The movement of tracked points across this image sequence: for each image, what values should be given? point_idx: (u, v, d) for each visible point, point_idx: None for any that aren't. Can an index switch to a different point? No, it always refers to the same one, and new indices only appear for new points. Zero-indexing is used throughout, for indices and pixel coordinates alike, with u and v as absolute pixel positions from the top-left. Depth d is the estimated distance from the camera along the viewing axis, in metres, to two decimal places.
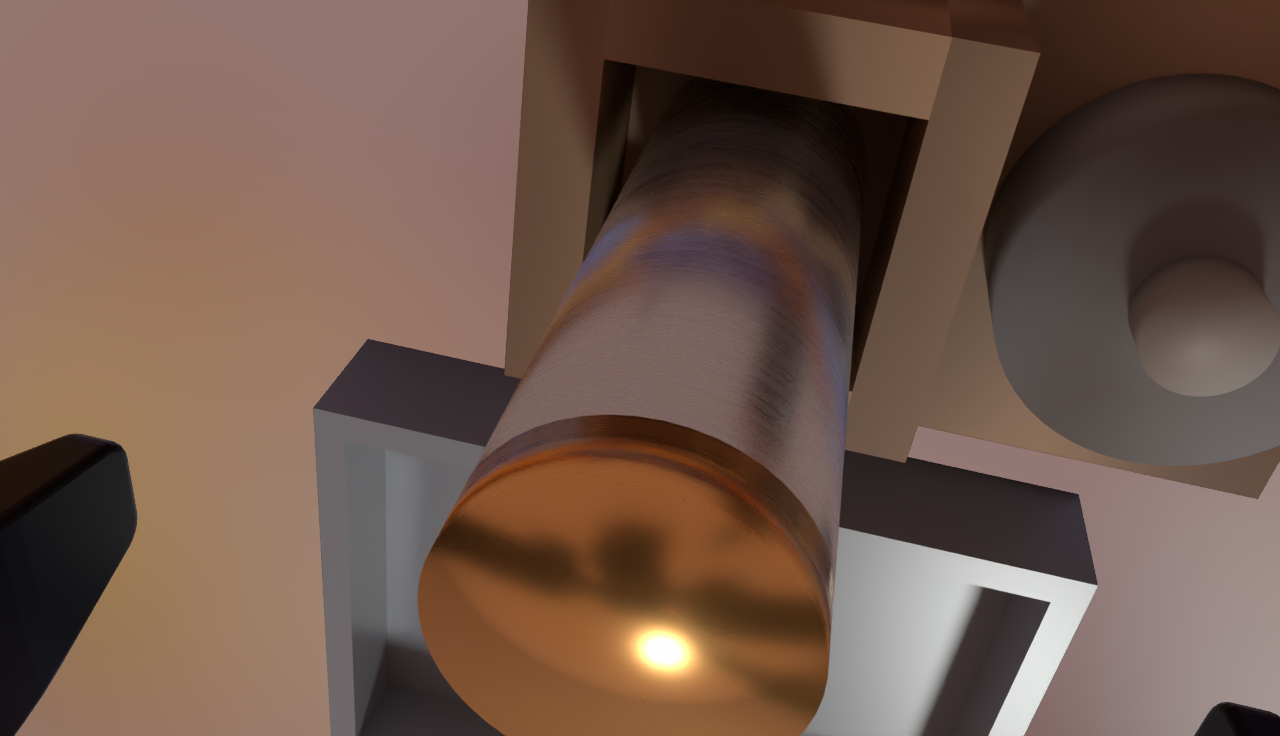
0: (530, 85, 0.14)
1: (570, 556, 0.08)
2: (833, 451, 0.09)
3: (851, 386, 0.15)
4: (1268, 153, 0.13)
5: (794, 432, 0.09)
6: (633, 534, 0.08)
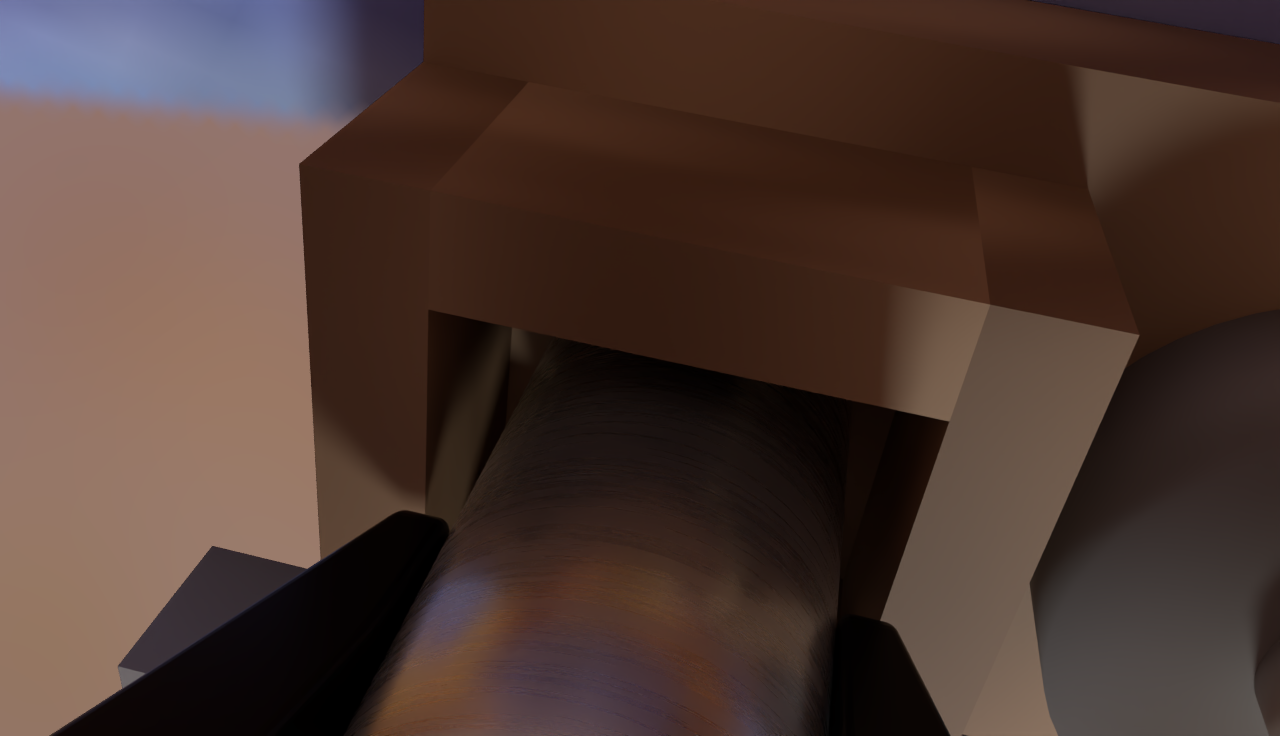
0: (320, 340, 0.09)
1: None
2: None
3: None
4: None
5: None
6: None
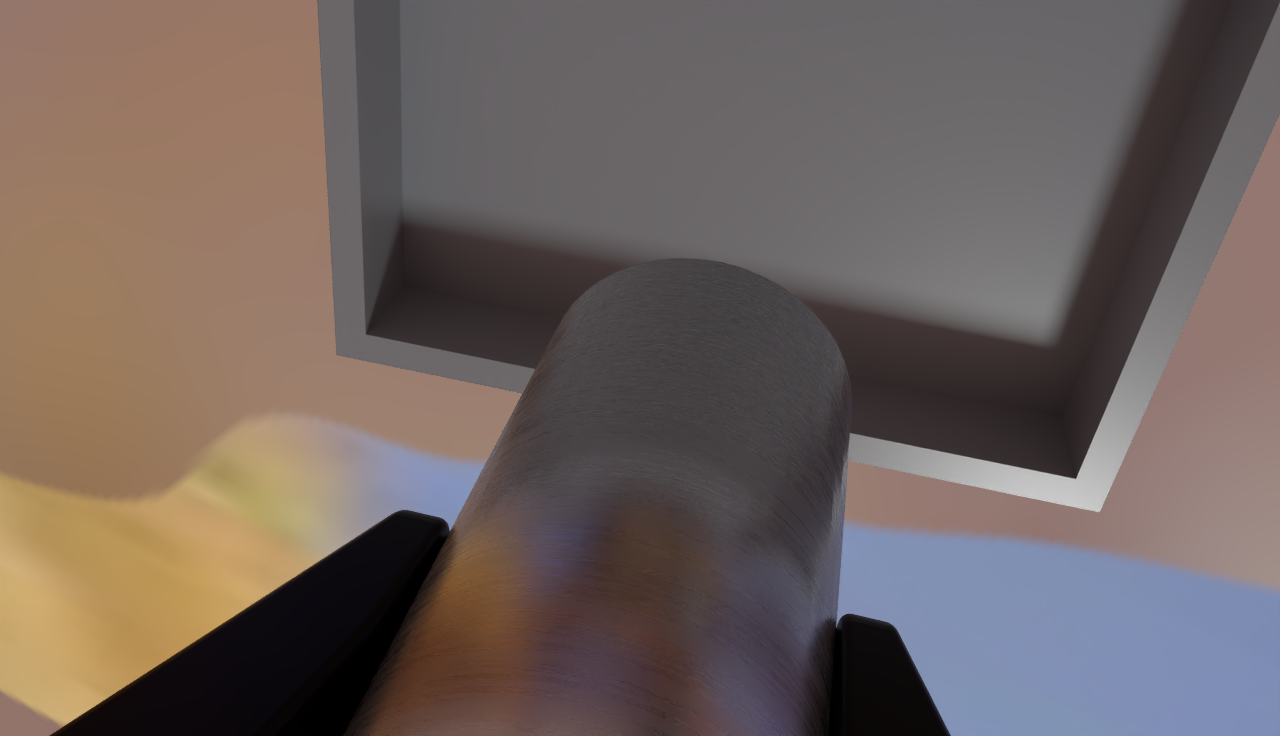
0: None
1: None
2: None
3: None
4: None
5: None
6: None
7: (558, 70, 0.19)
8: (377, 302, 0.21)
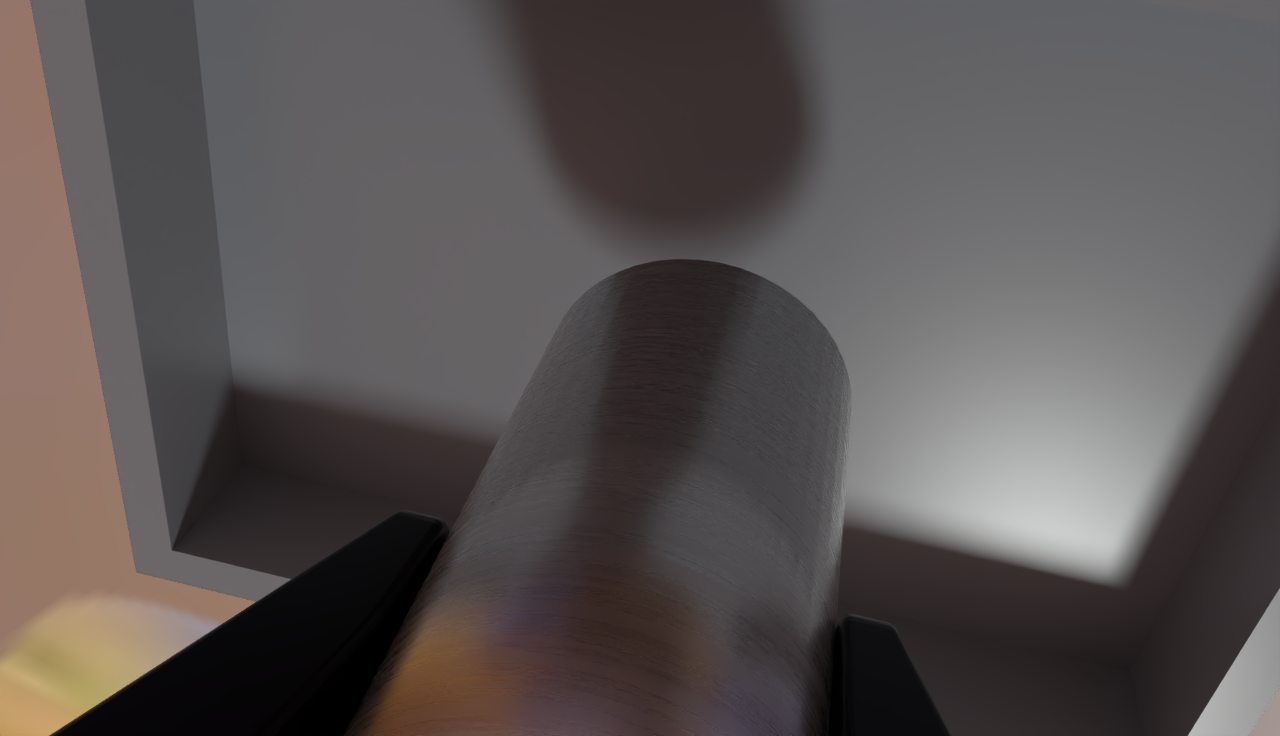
0: None
1: None
2: None
3: None
4: None
5: None
6: None
7: (430, 202, 0.13)
8: (192, 502, 0.15)
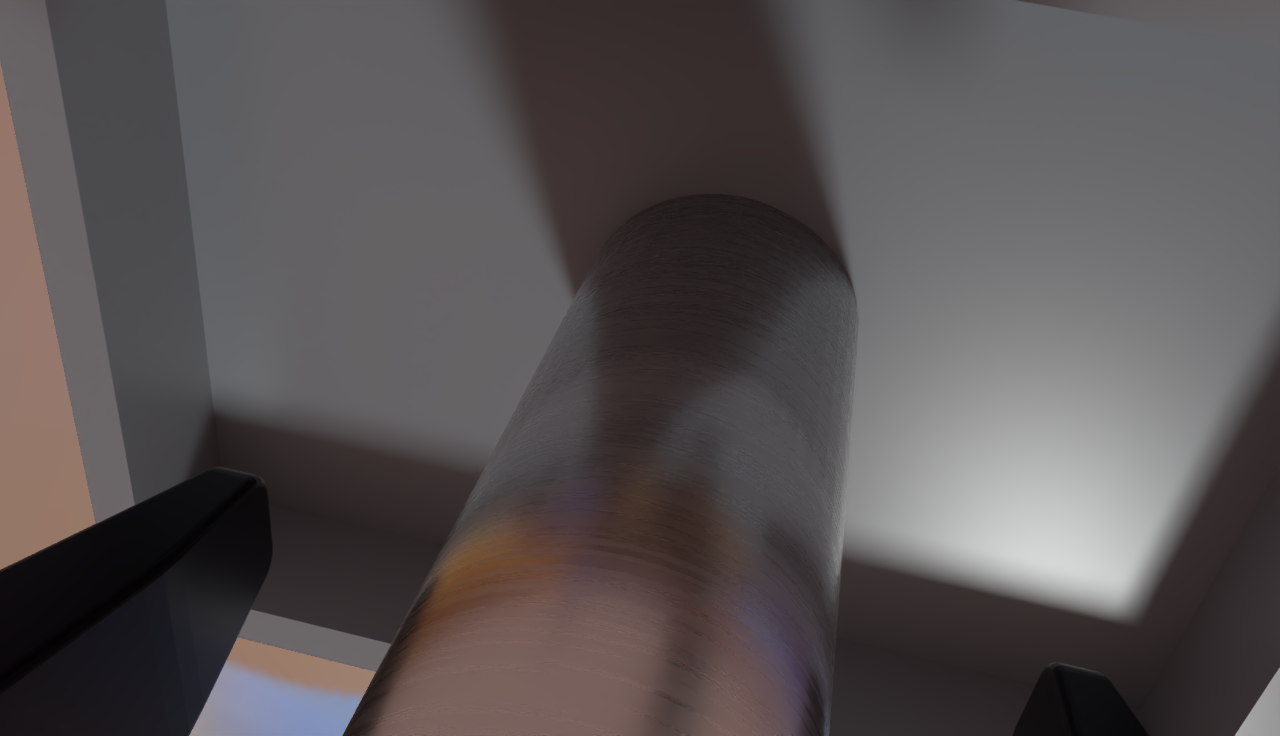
0: None
1: None
2: None
3: None
4: None
5: None
6: None
7: (414, 226, 0.13)
8: None
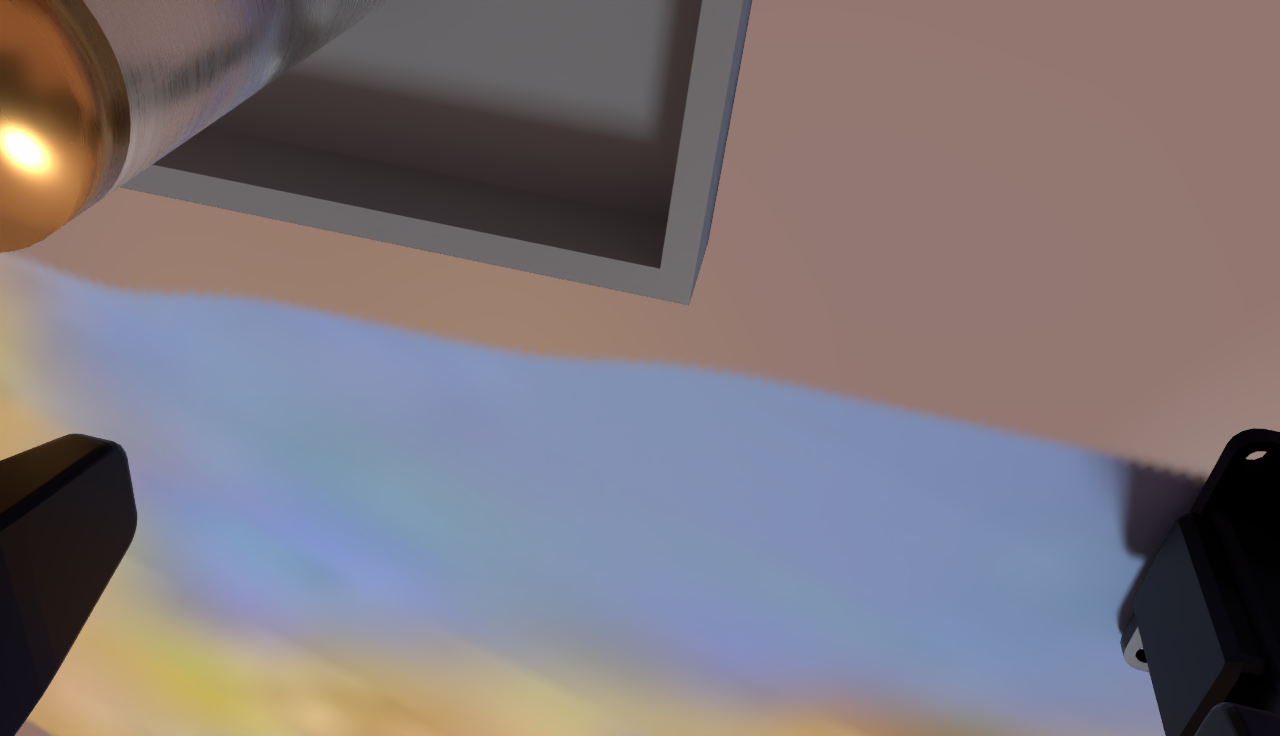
0: None
1: None
2: None
3: None
4: None
5: None
6: None
7: None
8: None
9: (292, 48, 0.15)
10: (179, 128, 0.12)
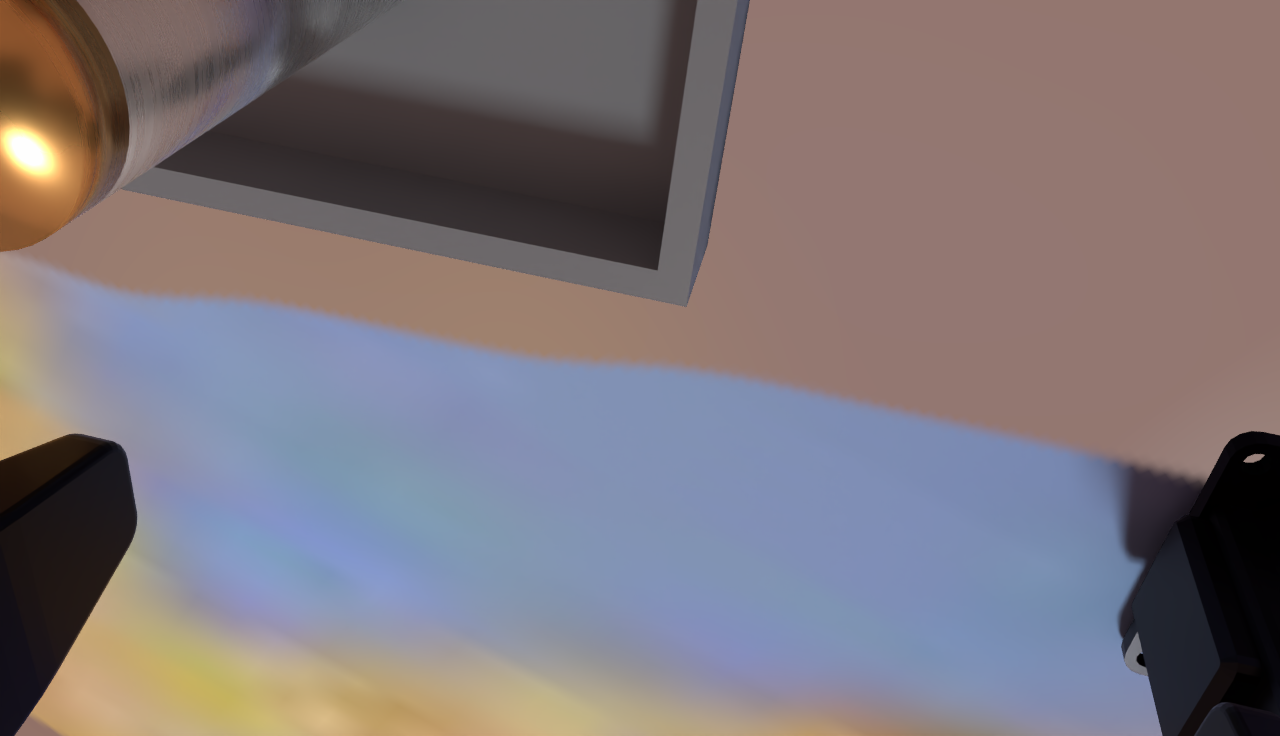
0: None
1: None
2: None
3: None
4: None
5: None
6: None
7: None
8: None
9: (292, 54, 0.15)
10: (179, 131, 0.13)
